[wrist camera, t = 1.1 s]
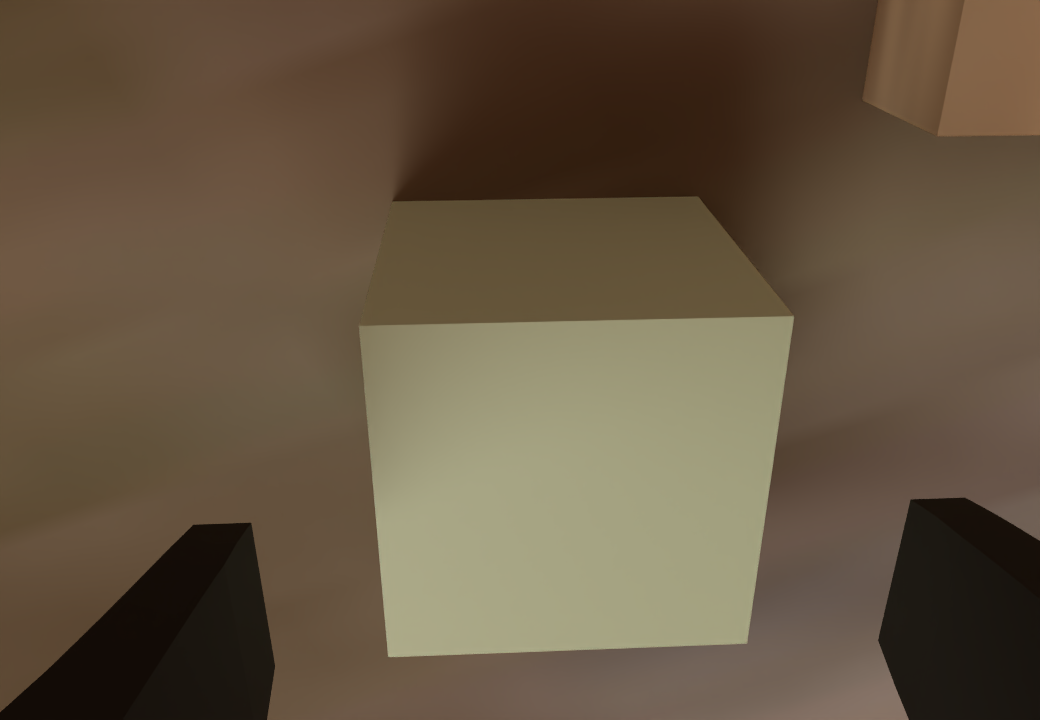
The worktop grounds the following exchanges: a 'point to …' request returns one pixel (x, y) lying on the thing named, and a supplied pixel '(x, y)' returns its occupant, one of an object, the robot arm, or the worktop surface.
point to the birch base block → (957, 65)
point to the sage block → (568, 424)
